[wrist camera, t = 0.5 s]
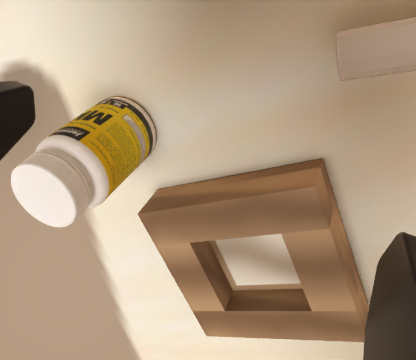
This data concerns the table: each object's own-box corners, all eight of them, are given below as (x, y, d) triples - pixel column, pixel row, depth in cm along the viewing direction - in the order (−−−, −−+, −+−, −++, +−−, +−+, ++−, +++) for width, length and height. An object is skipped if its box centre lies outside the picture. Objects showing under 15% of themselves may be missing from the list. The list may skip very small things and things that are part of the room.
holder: (368, 305, 28) (367, 342, 25) (218, 306, 34) (206, 336, 31) (322, 158, 23) (315, 186, 21) (157, 189, 29) (137, 213, 26)
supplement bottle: (135, 85, 25) (46, 147, 18) (169, 149, 26) (99, 227, 20) (83, 107, 27) (-12, 169, 21) (117, 165, 29) (40, 239, 22)
